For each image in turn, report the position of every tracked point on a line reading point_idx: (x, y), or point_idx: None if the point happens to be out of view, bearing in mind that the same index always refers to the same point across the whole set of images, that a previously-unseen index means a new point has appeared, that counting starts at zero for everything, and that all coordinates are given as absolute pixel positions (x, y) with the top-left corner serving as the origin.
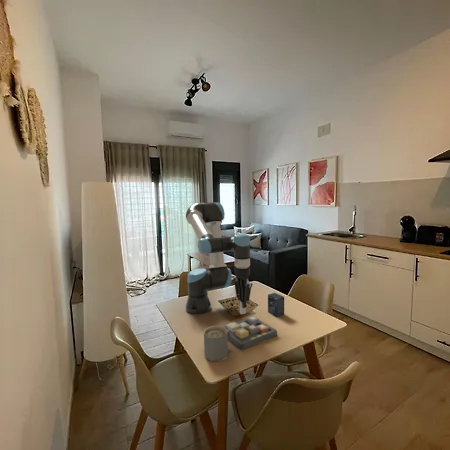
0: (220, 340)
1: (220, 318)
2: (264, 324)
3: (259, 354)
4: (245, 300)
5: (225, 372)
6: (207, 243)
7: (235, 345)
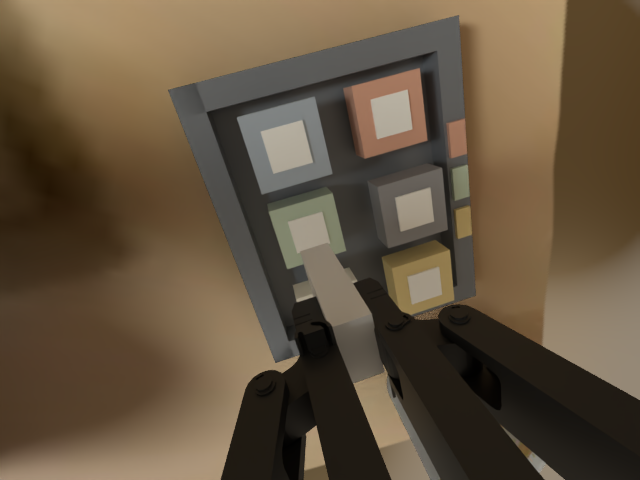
0: None
1: (73, 311)
2: (340, 63)
3: (523, 216)
4: (488, 370)
5: None
6: None
7: None
